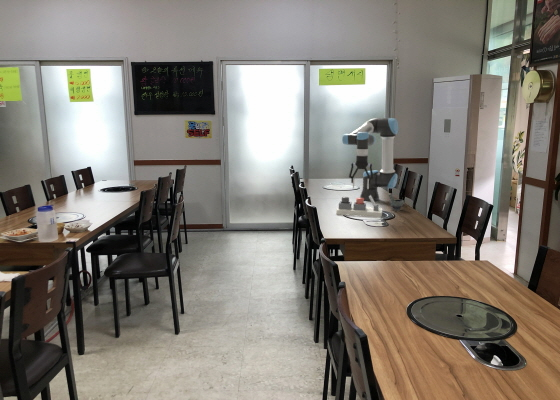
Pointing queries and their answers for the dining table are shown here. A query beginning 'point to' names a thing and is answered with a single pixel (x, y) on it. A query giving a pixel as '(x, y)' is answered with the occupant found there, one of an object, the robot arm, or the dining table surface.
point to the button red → (359, 200)
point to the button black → (345, 200)
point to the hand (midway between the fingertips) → (360, 188)
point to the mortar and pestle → (395, 203)
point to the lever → (372, 200)
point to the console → (358, 210)
